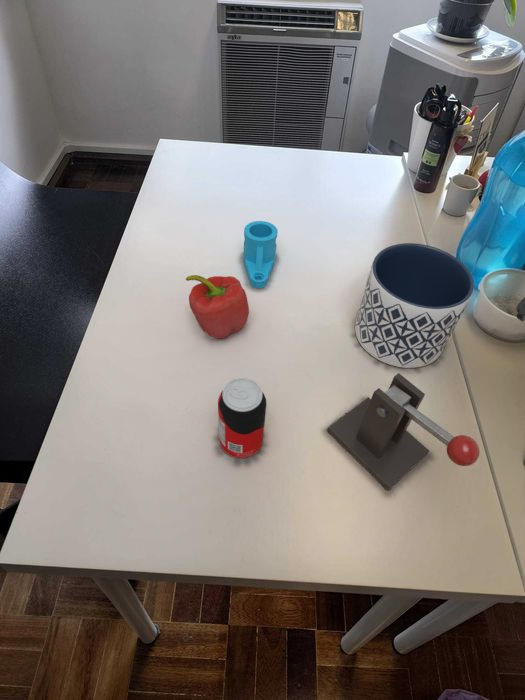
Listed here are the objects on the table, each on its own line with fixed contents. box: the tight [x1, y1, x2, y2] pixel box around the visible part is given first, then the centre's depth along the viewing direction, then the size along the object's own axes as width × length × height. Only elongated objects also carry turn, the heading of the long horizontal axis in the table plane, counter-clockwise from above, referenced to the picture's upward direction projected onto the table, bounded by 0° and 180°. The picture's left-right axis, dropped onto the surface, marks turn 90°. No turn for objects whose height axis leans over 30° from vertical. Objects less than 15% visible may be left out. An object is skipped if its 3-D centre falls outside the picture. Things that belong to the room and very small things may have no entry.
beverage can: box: [217, 377, 267, 459], centre depth 64 cm, size 6×6×12 cm
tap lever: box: [384, 385, 480, 467], centre depth 59 cm, size 13×4×4 cm, turn 40°
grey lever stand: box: [326, 372, 430, 492], centre depth 65 cm, size 12×9×13 cm
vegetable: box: [185, 274, 250, 339], centre depth 80 cm, size 11×10×10 cm
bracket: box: [242, 220, 278, 289], centre depth 92 cm, size 6×12×7 cm, turn 179°
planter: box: [354, 242, 475, 369], centre depth 79 cm, size 16×16×14 cm
